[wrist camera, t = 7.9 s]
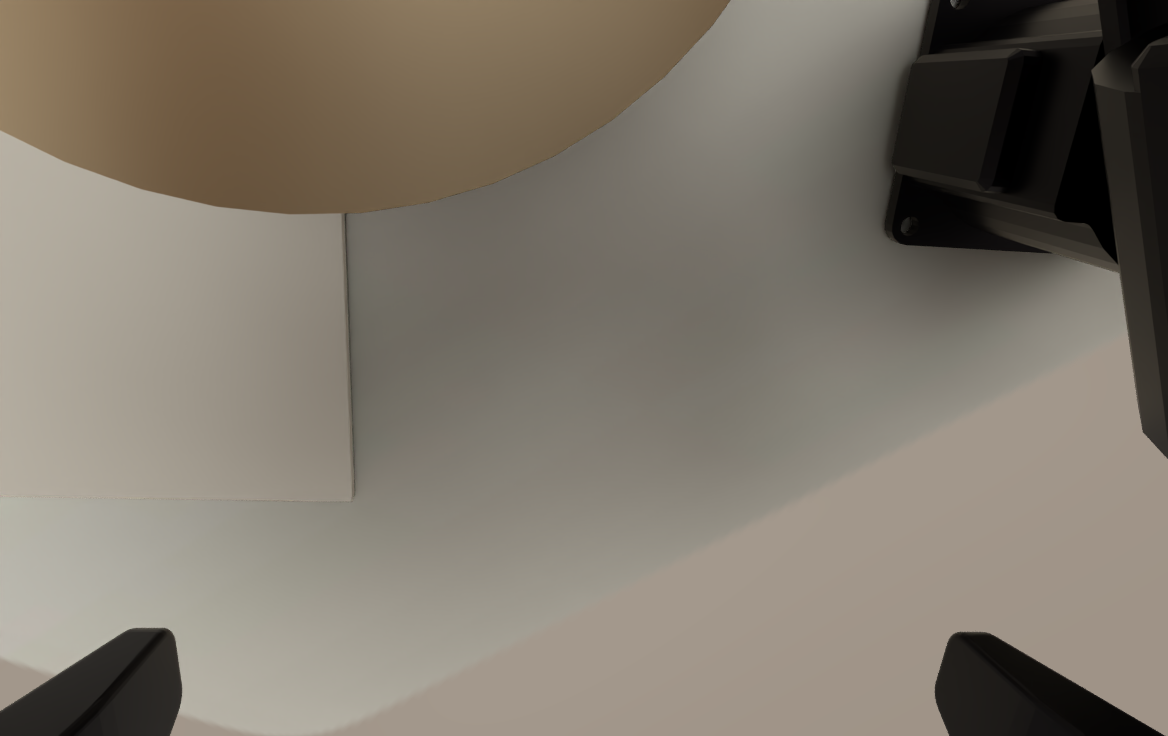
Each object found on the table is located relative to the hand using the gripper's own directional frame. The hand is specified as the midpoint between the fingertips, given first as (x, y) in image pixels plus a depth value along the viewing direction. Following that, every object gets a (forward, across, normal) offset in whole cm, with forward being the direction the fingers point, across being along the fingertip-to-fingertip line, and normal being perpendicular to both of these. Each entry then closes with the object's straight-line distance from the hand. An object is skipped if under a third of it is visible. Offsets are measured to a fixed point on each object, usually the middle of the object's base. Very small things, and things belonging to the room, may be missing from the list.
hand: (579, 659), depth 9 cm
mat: (+13, +12, -1) cm, 17 cm away
